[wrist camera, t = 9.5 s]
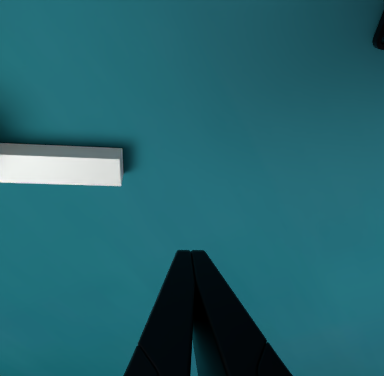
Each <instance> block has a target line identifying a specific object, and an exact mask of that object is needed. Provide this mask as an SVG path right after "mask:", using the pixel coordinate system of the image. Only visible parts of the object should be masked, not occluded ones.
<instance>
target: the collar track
mask: <svg viewBox="0 0 384 376" xmlns="http://www.w3.org/2000/svg"><path fill="white" fill-rule="evenodd" d="M122 179H123V152H122V148H104V147H81V146H58V145H35V144H12V143H0V182H4V183H37V184H70V185H103V186H121V184H122Z"/></svg>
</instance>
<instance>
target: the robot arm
mask: <svg viewBox="0 0 384 376" xmlns="http://www.w3.org/2000/svg"><path fill="white" fill-rule="evenodd" d="M383 37H384V11H383V14H382V16H381V19H380V22H379V24H378V27H377V29H376V32H375V35H374V37H373V46H374V47H376V48H378V49H381V50H384V42H383V43H381V39H382V38H383ZM192 339H193V345H194V352H195V358H196V365H197V371H198V376H293V375H292V374H291V373H290V371H289V370H288V369H287V367H286V366H285V365H284V363H283V362H282V361H281V359H280V358H279V357H278V355H277V354H276V352H275V351H274V349H273V348H272V347H271V345H270V344H269V343H268V342H267V340H266V338H265V337H264V335H263V334H262V332H261V331H260V330H259V328H258V327H257V325H256V324H255V322H254V321H253V319H252V318H251V317H250V315H249V314H248V312H247V311H246V309H245V308H244V307H243V305H242V304H241V302H240V301H239V299H238V298H237V297H236V295H235V294H234V292H233V291H232V289H231V288H230V286H229V285H228V284H227V282H226V281H225V279H224V278H223V276H222V275H221V274H220V272H219V271H218V269H217V268H216V266H215V265H214V264H213V262H212V261H211V259H210V258H209V256H208V255H207V253H206V252H205V251H203V250H192V251H191V252H190V250H178V251H177V252H176V254H175V257H174V259H173V261H172V264H171V266H170V269H169V271H168V273H167V276H166V278H165V280H164V283H163V285H162V287H161V290H160V292H159V295H158V297H157V299H156V302H155V304H154V306H153V309H152V311H151V314H150V316H149V318H148V321H147V323H146V325H145V328H144V330H143V332H142V335H141V337H140V340H139V342H138V346H136V349H135V351H134V353H133V356H132V358H131V360H130V362H129V365H128V367H127V369H126V371H125V373H124V375H123V376H190V371H191V353H192ZM266 342H267V343H266Z"/></svg>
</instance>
